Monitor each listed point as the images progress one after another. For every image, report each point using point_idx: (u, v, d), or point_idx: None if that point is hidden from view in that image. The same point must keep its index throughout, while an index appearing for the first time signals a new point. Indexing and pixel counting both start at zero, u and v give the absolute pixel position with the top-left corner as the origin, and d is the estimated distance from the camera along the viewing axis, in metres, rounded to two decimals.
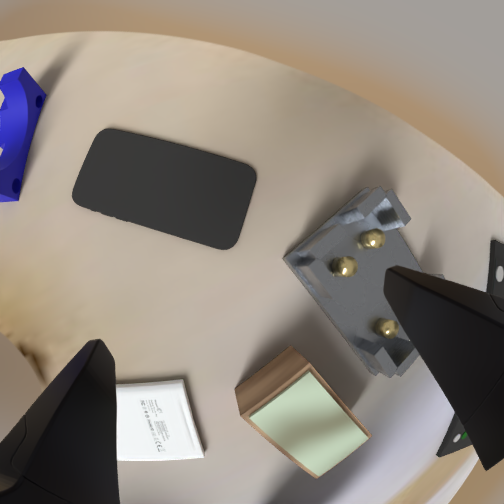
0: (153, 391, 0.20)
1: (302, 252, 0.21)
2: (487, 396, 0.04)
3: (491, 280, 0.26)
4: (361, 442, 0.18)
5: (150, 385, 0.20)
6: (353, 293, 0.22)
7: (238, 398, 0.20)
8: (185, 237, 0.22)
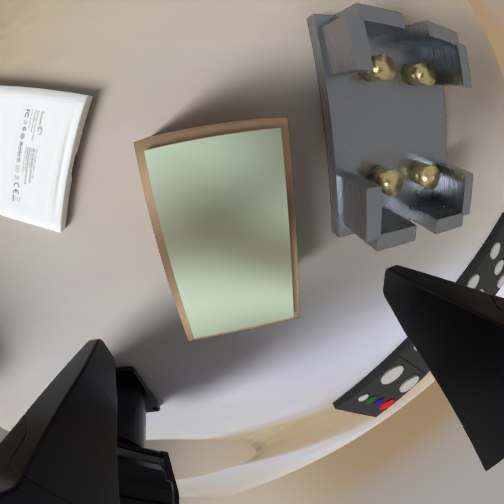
0: (47, 98, 0.10)
1: (340, 14, 0.10)
2: (487, 395, 0.04)
3: (486, 249, 0.23)
4: (281, 316, 0.14)
5: (49, 89, 0.10)
6: (369, 108, 0.14)
7: (148, 137, 0.12)
8: None
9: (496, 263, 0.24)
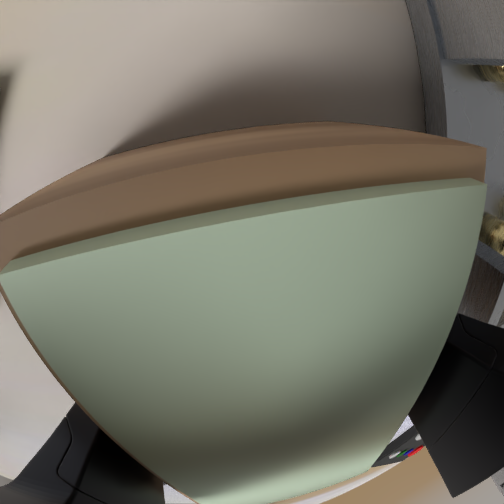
0: None
1: None
2: (451, 425, 0.04)
3: None
4: (351, 477, 0.06)
5: None
6: (487, 123, 0.07)
7: (73, 173, 0.04)
8: None
9: None
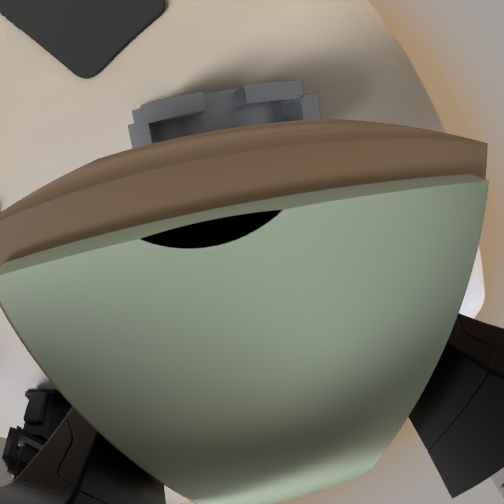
0: None
1: None
2: (451, 425, 0.04)
3: None
4: (352, 478, 0.06)
5: None
6: None
7: (68, 174, 0.04)
8: (53, 54, 0.11)
9: None
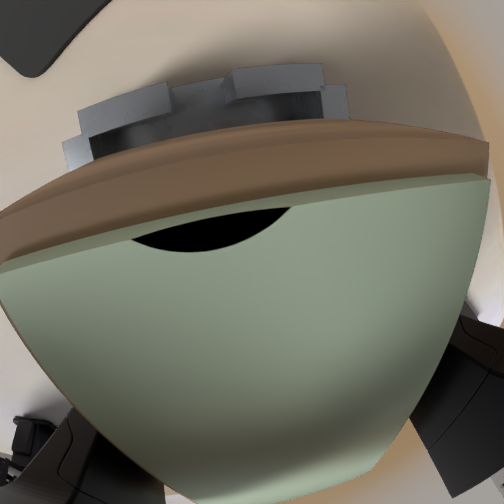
0: None
1: None
2: (451, 425, 0.04)
3: None
4: None
5: None
6: None
7: (69, 173, 0.04)
8: None
9: None
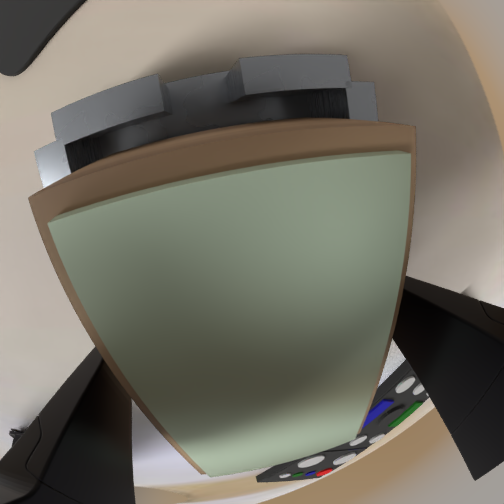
0: None
1: None
2: (475, 406, 0.04)
3: None
4: (339, 443, 0.08)
5: None
6: None
7: (93, 163, 0.05)
8: None
9: None
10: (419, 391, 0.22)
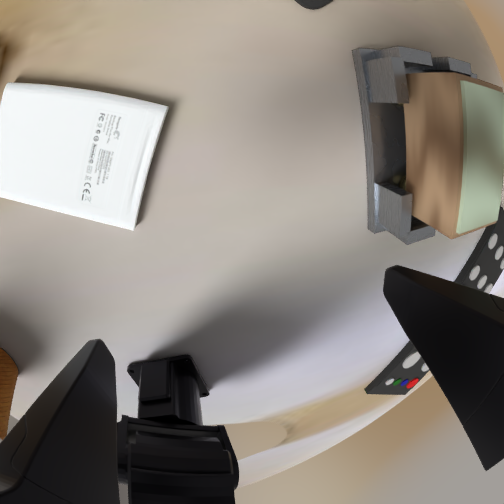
0: (125, 104, 0.14)
1: (382, 51, 0.13)
2: (488, 396, 0.04)
3: (483, 242, 0.25)
4: (494, 218, 0.14)
5: (125, 96, 0.13)
6: (400, 128, 0.17)
7: (425, 73, 0.12)
8: None
9: (496, 250, 0.26)
10: (481, 285, 0.28)
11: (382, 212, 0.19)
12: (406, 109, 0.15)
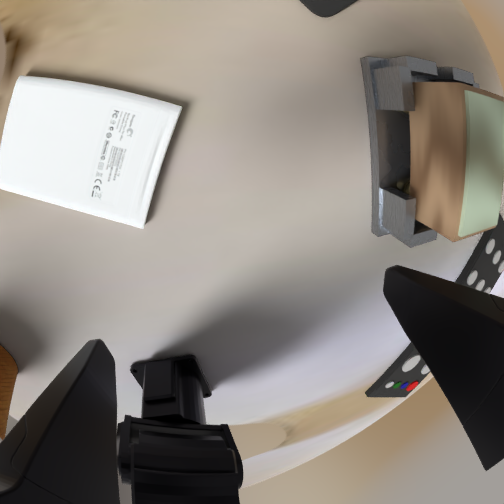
0: (139, 103, 0.14)
1: (389, 59, 0.14)
2: (487, 395, 0.04)
3: (481, 247, 0.26)
4: (494, 223, 0.15)
5: (140, 95, 0.14)
6: (404, 135, 0.18)
7: (430, 82, 0.12)
8: None
9: (493, 254, 0.27)
10: (479, 289, 0.29)
11: (386, 216, 0.20)
12: (412, 116, 0.15)
